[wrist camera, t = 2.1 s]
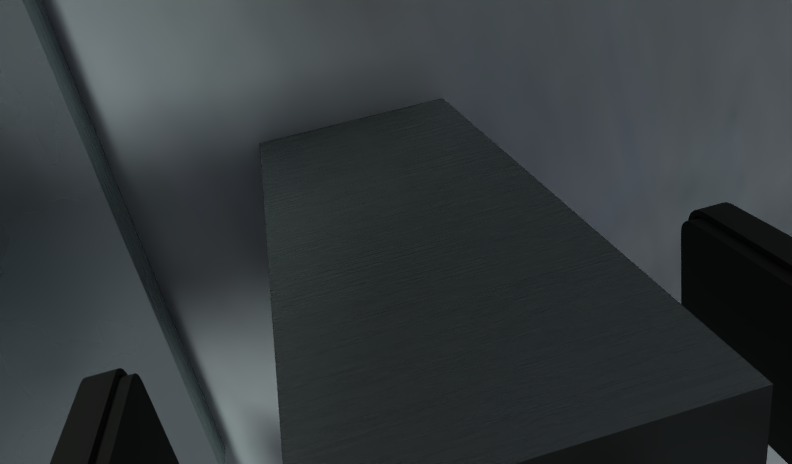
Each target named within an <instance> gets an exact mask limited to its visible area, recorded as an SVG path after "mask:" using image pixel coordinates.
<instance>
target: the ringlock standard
mask: <svg viewBox="0 0 792 464" xmlns="http://www.w3.org/2000/svg"><path fill="white" fill-rule="evenodd" d="M118 368H121V369H124V371H125V372H126V373H127V374H128V375H131V374H134V373H136V374H138V375H139V376H140V378H141V380H142V382H143V384H144V386H145V388H146V391H147V393H148V395H149V397H150V399H151V402H152V404H153V406H154V408H155V411H156V413H157V415H158V417H159V419H160V422H161V424H162V426H163V428H164V431H165V433H166V435H167V437H168V440H169V442H170V444H171V446H172V448H173V451H174V453H175V455H176V457H177V460H178V462H179V464H225V448H224V445H223V443H222V440H221V438H220V435H219V433H218V430H217V428H216V426H215V423H214V421H213V418H212V416H211V413H210V411H209V408H208V406H207V404H206V401H205V399H204V396H203V394H202V391H201V389H200V387H199V384H198V382H197V379H196V377H195V374H194V372H193V369H192V367H191V365H190V362H189V360H188V357H187V355H186V352H185V350H184V348H183V345H182V343H181V340H180V338H179V335H178V333H177V330H176V328H175V326H174V323H173V321H172V318H171V316H170V313H169V311H168V308H167V306H166V304H165V301H164V299H163V296H162V294H161V291H160V289H159V287H158V284H157V282H156V279H155V277H154V274H153V272H152V269H151V267H150V265H149V262H148V260H147V257H146V255H145V252H144V250H143V248H142V245H141V243H140V240H139V238H138V235H137V233H136V230H135V228H134V226H133V223H132V221H131V218H130V216H129V213H128V211H127V208H126V206H125V204H124V201H123V199H122V196H121V194H120V191H119V189H118V187H117V184H116V182H115V179H114V177H113V174H112V172H111V169H110V167H109V165H108V162H107V160H106V157H105V155H104V152H103V150H102V147H101V145H100V143H99V140H98V138H97V135H96V133H95V130H94V128H93V126H92V123H91V121H90V118H89V116H88V113H87V111H86V108H85V106H84V104H83V101H82V99H81V96H80V94H79V91H78V89H77V87H76V84H75V82H74V79H73V77H72V74H71V72H70V69H69V67H68V65H67V62H66V60H65V57H64V55H63V52H62V50H61V47H60V45H59V43H58V40H57V38H56V35H55V33H54V30H53V28H52V26H51V23H50V21H49V18H48V16H47V13H46V11H45V8H44V6H43V4H42V1H41V0H0V464H50V462H51V459H52V456H53V454H54V451H55V449H56V446H57V443H58V441H59V438H60V435H61V433H62V430H63V427H64V425H65V422H66V420H67V417H68V414H69V412H70V409H71V406H72V404H73V401H74V398H75V396H76V393H77V391H78V388H79V385H80V383H81V381H82V379H83V378H86V377H89V376H93V375H96V374H100V373H104V372H107V371H111V370H114V369H118Z"/></svg>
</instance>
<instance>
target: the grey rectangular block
mask: <svg viewBox="0 0 792 464" xmlns="http://www.w3.org/2000/svg"><path fill="white" fill-rule="evenodd" d="M260 154H261V168H262V182H263V196H264V210H265V224H266V237H267V251H268V265H269V279H270V293H271V307H272V321H273V334H274V348H275V362H276V376H277V390H278V404H279V417H280V431H281V445H282V459H283V464H766V460H767V448H768V437H769V425H770V414H771V403H772V391H773V383H771V382H770V381H769V380H768V379H767V378H766V377H764V376H763V375H762V374H761V373H760V372H759V371H757V370H756V369H755V368H754V367H753V366H752V365H751V364H749V363H748V362H747V361H746V360H745V359H744V358H742V357H741V356H740V355H739V354H738V353H737V352H736V351H734V350H733V349H732V348H731V347H730V346H729V345H727V344H726V343H725V342H724V341H723V340H722V339H720V338H719V337H718V336H717V335H716V334H715V333H714V332H712V331H711V330H710V329H709V328H708V327H707V326H705V325H704V324H703V323H702V322H701V321H700V320H699V319H697V318H696V317H695V316H694V315H693V314H692V313H690V312H689V311H688V310H687V309H686V308H685V307H683V306H682V305H681V304H680V303H679V302H678V301H677V300H675V299H674V298H673V297H672V296H671V295H670V294H668V293H667V292H666V291H665V290H664V289H663V288H662V287H660V286H659V285H658V284H657V283H656V282H655V281H653V280H652V279H651V278H650V277H649V276H648V275H646V274H645V273H644V272H643V271H642V270H641V269H640V268H638V267H637V266H636V265H635V264H634V263H633V262H631V261H630V260H629V259H628V258H627V257H626V256H624V255H623V254H622V253H621V252H620V251H619V250H618V249H616V248H615V247H614V246H613V245H612V244H611V243H609V242H608V241H607V240H606V239H605V238H604V237H603V236H601V235H600V234H599V233H598V232H597V231H596V230H594V229H593V228H592V227H591V226H590V225H589V224H587V223H586V222H585V221H584V220H583V219H582V218H581V217H579V216H578V215H577V214H576V213H575V212H574V211H572V210H571V209H570V208H569V207H568V206H567V205H566V204H564V203H563V202H562V201H561V200H560V199H559V198H557V197H556V196H555V195H554V194H553V193H552V192H550V191H549V190H548V189H547V188H546V187H545V186H544V185H542V184H541V183H540V182H539V181H538V180H537V179H535V178H534V177H533V176H532V175H531V174H530V173H529V172H527V171H526V170H525V169H524V168H523V167H522V166H520V165H519V164H518V163H517V162H516V161H515V160H513V159H512V158H511V157H510V156H509V155H508V154H507V153H505V152H504V151H503V150H502V149H501V148H500V147H498V146H497V145H496V144H495V143H494V142H493V141H491V140H490V139H489V138H488V137H487V136H486V135H485V134H483V133H482V132H481V131H480V130H479V129H478V128H476V127H475V126H474V125H473V124H472V123H471V122H470V121H468V120H467V119H466V118H465V117H464V116H463V115H461V114H460V113H459V112H458V111H457V110H456V109H454V108H453V107H452V106H451V105H450V104H449V103H448V102H446V101H445V100H444V99H439V100H435V101H431V102H426V103H422V104H418V105H414V106H410V107H406V108H402V109H398V110H394V111H390V112H386V113H382V114H378V115H374V116H370V117H365V118H361V119H357V120H353V121H349V122H345V123H341V124H337V125H333V126H329V127H325V128H321V129H317V130H313V131H309V132H304V133H300V134H296V135H292V136H288V137H284V138H280V139H276V140H272V141H268V142H264V143H260Z"/></svg>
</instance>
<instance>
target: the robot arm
mask: <svg viewBox="0 0 792 464" xmlns="http://www.w3.org/2000/svg"><path fill="white" fill-rule="evenodd" d="M681 302H682V306H683V307H685V308H686V309H687V310H688V311H689V312H690V313H692V314H693V315H694V316H695V317H696V318H697V319H699V320H700V321H701V322H702V323H703V324H704V325H705V326H707V327H708V328H709V329H710V330H711V331H712V332H714V333H715V334H716V335H717V336H718V337H719V338H720V339H722V340H723V341H724V342H725V343H726V344H727V345H729V346H730V347H731V348H732V349H733V350H734V351H736V352H737V353H738V354H739V355H740V356H741V357H742V358H744V359H745V360H746V361H747V362H748V363H749V364H751V365H752V366H753V367H754V368H755V369H756V370H757V371H759V372H760V373H761V374H762V375H763V376H764V377H766V378H767V379H768V380H769V381H770V382H771V383H773V391H772V403H771V414H770V425H769V437H768V445H769V446H771V447H772V448H773V449H774V450H775V451H776V452H777V453H778V454H779V455H780V456H781V457H782V458H783V459H784V460H785V461H786V462H787V463H788V464H792V237H791V236H789V235H787V234H785V233H784V232H782V231H780V230H778V229H776V228H774V227H773V226H771V225H769V224H767V223H765V222H763V221H762V220H760V219H758V218H756V217H754V216H753V215H751V214H749V213H747V212H745V211H743V210H742V209H740V208H738V207H736V206H734V205H732V204H730V203H727V202H725V203H720V204H717V205H713V206H709V207H706V208H702V209H698V210H695V211H693V212H692V213H691V214H690V216H689V219H688V221H686V222H685V223H683V225H682V229H681ZM50 464H179V462H178V460H177V457H176V455H175V453H174V451H173V448H172V446H171V444H170V442H169V440H168V437H167V435H166V433H165V431H164V428H163V426H162V424H161V422H160V419H159V417H158V415H157V413H156V411H155V408H154V406H153V404H152V402H151V399H150V397H149V395H148V393H147V391H146V388H145V386H144V384H143V382H142V380H141V378H140V376H139V375H138V374H136V373H134V374H131V375H128V374H127V373H126V372H125V371H124V369H121V368H118V369H114V370H111V371H107V372H104V373H100V374H96V375H93V376H89V377H86V378H83V379H82V381H81V383H80V385H79V388H78V391H77V393H76V396H75V398H74V401H73V404H72V406H71V409H70V412H69V414H68V417H67V420H66V422H65V425H64V427H63V430H62V433H61V435H60V438H59V441H58V443H57V446H56V449H55V451H54V454H53V456H52V459H51V462H50Z"/></svg>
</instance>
